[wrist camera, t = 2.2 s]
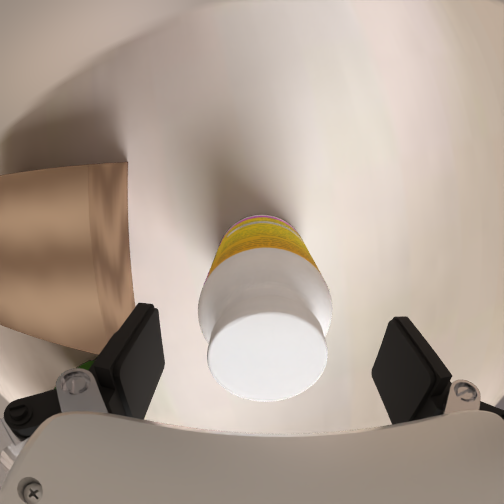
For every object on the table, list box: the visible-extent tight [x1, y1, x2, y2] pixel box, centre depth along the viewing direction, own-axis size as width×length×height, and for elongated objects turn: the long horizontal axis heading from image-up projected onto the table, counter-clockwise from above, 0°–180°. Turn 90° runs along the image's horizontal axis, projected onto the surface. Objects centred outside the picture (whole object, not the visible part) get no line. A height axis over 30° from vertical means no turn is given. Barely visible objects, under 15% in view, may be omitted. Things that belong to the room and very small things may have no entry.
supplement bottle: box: [198, 215, 332, 402], centre depth 16 cm, size 7×7×13 cm
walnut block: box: [0, 162, 135, 355], centre depth 19 cm, size 14×14×6 cm
